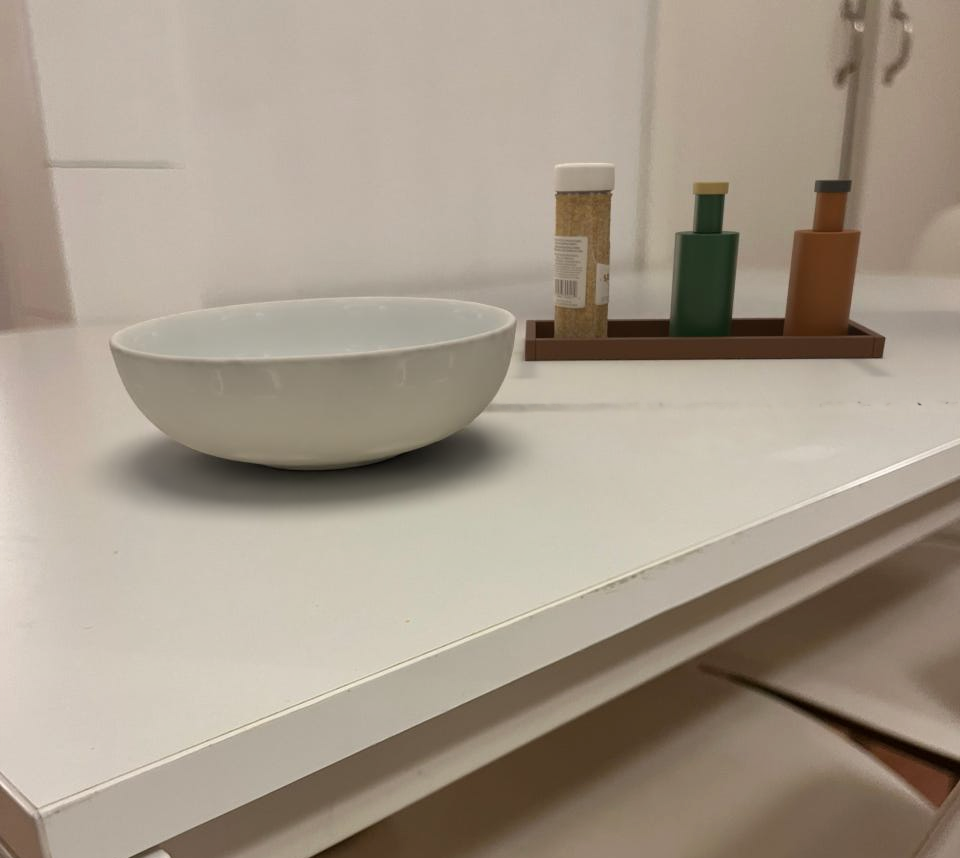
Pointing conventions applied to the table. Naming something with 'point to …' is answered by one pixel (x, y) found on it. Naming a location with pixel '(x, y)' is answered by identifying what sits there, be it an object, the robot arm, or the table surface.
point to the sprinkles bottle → (582, 249)
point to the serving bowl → (316, 376)
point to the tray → (699, 343)
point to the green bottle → (704, 269)
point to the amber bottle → (823, 267)
